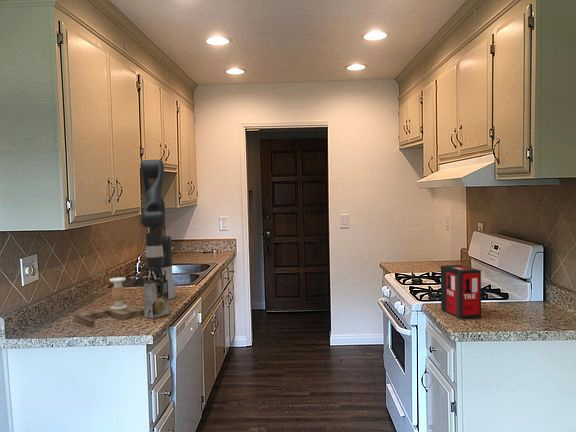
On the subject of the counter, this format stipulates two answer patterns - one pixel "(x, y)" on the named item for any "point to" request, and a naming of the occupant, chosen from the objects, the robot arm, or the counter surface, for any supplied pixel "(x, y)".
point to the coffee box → (155, 299)
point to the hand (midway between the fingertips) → (156, 291)
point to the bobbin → (118, 293)
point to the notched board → (107, 314)
